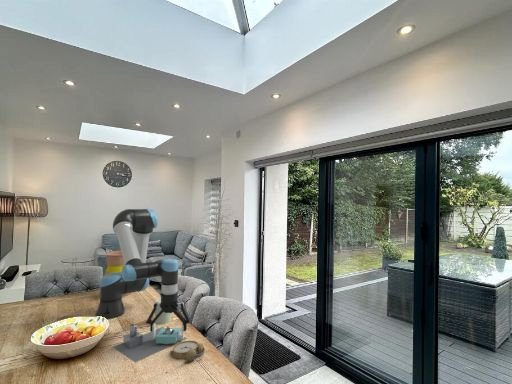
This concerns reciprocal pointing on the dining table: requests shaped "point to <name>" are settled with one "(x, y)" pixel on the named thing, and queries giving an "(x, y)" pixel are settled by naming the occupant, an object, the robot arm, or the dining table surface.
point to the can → (162, 315)
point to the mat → (144, 347)
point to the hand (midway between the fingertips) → (168, 338)
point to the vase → (115, 264)
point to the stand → (133, 337)
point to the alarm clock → (188, 350)
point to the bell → (167, 331)
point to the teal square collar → (168, 336)
